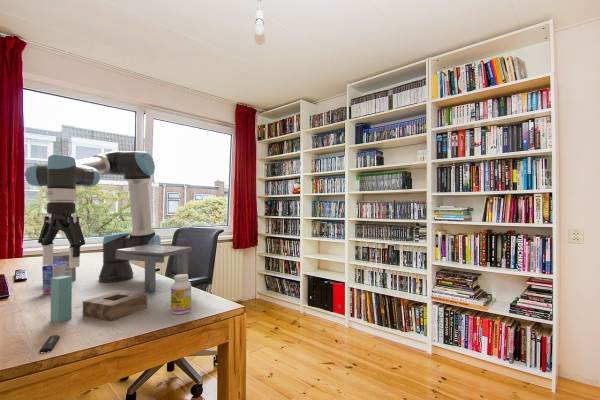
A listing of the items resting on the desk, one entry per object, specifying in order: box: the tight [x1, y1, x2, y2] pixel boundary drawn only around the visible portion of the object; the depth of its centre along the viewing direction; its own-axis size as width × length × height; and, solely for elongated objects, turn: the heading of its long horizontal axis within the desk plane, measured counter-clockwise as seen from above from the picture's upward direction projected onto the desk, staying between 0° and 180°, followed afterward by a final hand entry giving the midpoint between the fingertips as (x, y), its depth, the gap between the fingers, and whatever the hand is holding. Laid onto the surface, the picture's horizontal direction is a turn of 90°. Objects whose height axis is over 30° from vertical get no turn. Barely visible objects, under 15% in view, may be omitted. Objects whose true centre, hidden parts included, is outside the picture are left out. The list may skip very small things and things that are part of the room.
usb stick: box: [38, 334, 60, 354], centre depth 83 cm, size 10×3×2 cm, turn 27°
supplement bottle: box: [170, 274, 192, 316], centre depth 108 cm, size 7×7×13 cm
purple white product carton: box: [53, 251, 77, 282], centre depth 152 cm, size 10×10×15 cm
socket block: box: [82, 289, 148, 322], centre depth 109 cm, size 14×14×5 cm
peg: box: [50, 276, 73, 324], centre depth 101 cm, size 4×4×14 cm
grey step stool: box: [116, 244, 193, 293], centre depth 125 cm, size 24×16×20 cm, turn 69°
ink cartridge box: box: [41, 258, 72, 295], centre depth 135 cm, size 10×6×14 cm, turn 174°
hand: (60, 266), depth 101 cm, fingers open, 13 cm apart
